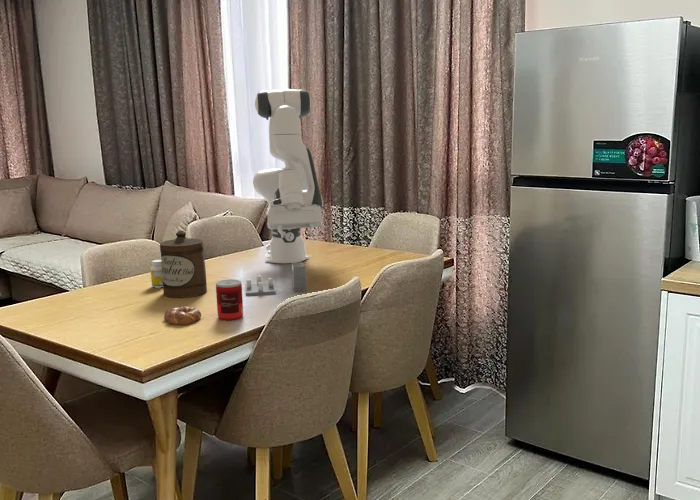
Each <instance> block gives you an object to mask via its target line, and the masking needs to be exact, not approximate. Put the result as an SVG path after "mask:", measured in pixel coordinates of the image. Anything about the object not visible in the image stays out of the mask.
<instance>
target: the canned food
mask: <svg viewBox="0 0 700 500" xmlns="http://www.w3.org/2000/svg"><path fill="white" fill-rule="evenodd" d="M215 295H216V308H217V318H218V319H219V320H220V321H223V320H225V321H224V322H231V321H232V320H234V321H239V320H240V319H242V318H243V316H244V305H243V301H244V300H243V285H242V280H239V279H232V278H231V279H230V278H229V279H223V280H218V281H216V282H215Z"/></svg>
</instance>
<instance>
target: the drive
mask: <svg viewBox="0 0 700 500" xmlns="http://www.w3.org/2000/svg"><path fill="white" fill-rule="evenodd" d="M291 274H292V275H291V276H292V277H291V279H292V290H293V291H294V292H293V293H307V281H306V277H307V276H306V266H305V264H304V262H303V261H301V262H296V263H291Z"/></svg>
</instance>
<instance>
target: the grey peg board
mask: <svg viewBox="0 0 700 500" xmlns="http://www.w3.org/2000/svg"><path fill="white" fill-rule="evenodd" d="M267 280H268V282H263V281H262V275H257V276H256V281H257V282H256V283H252V279H246V283H245V287H244V288H245V295H246V297H247V296H248V297H249V296H263V295H264V296H265V295H266V296H267V295H276V294H277V293H276V291H277V290H276V287H275V284H274V278H272V277H268V278H267Z"/></svg>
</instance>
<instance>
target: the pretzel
mask: <svg viewBox="0 0 700 500" xmlns="http://www.w3.org/2000/svg"><path fill="white" fill-rule="evenodd" d="M201 317H202V312H201V311H200V310H199V309H197V308H195V307H193V306H189V305H188V306H187V305H182V306H178V307H176V306H175V307H174V306H173V307H171V308H169V309H167V310H166V311H165V312H164V315H163V318H164V320H165V322H167V321H168V322H167V323H169V324H171V325H174V324H179V325H180V326H187V324H188V325H191V324H193V323H196V322H198V321H199V320H200V319H201Z"/></svg>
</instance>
